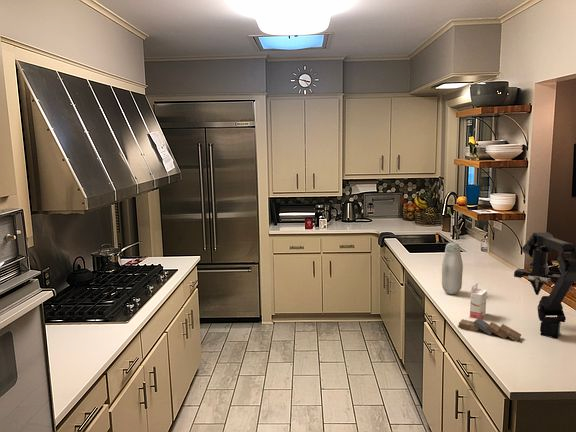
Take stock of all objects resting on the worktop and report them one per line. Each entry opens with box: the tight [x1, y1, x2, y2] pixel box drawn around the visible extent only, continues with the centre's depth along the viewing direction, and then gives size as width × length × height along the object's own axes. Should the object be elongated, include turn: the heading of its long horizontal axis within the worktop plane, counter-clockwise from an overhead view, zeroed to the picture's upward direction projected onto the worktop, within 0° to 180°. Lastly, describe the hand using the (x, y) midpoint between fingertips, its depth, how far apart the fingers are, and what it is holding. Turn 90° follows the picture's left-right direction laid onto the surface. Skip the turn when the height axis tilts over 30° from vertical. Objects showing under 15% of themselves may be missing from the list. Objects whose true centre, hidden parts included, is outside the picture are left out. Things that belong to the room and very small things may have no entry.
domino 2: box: [457, 324, 481, 333], centre depth 203 cm, size 2×5×8 cm
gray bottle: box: [441, 241, 464, 295], centre depth 246 cm, size 10×10×28 cm
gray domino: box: [473, 318, 494, 336], centre depth 198 cm, size 2×5×8 cm
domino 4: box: [498, 323, 522, 343], centre depth 192 cm, size 2×5×8 cm
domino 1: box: [458, 319, 479, 331], centre depth 202 cm, size 2×5×8 cm
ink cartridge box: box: [469, 282, 488, 319], centre depth 215 cm, size 9×5×15 cm, turn 141°
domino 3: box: [487, 321, 509, 340], centre depth 194 cm, size 2×5×8 cm
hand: (537, 294), depth 204 cm, fingers closed
